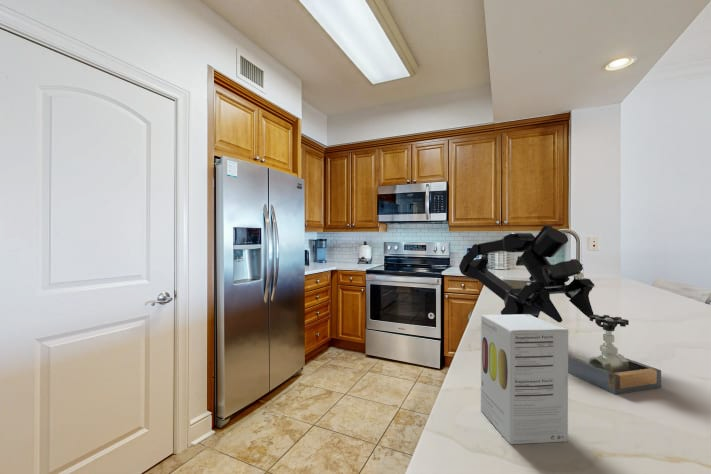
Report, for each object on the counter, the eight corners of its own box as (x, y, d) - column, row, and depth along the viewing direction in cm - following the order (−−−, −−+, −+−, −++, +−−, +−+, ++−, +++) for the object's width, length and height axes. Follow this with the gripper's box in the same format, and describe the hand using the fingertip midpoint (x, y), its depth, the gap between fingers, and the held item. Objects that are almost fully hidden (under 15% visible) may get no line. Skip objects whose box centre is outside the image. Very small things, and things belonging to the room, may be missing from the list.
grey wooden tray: (564, 371, 71) (564, 355, 71) (605, 366, 74) (605, 351, 74) (615, 394, 60) (615, 376, 60) (661, 387, 63) (661, 370, 63)
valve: (637, 378, 65) (637, 320, 65) (612, 382, 63) (612, 322, 63) (605, 366, 71) (604, 313, 71) (582, 369, 70) (581, 315, 70)
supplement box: (479, 410, 55) (478, 313, 55) (529, 407, 55) (528, 312, 56) (510, 446, 45) (510, 329, 45) (570, 442, 46) (570, 328, 46)
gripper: (525, 250, 77) (565, 304, 67) (587, 247, 81) (633, 298, 71) (504, 277, 85) (536, 329, 75) (561, 273, 89) (599, 322, 79)
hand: (577, 319), depth 75 cm, fingers open, 9 cm apart
